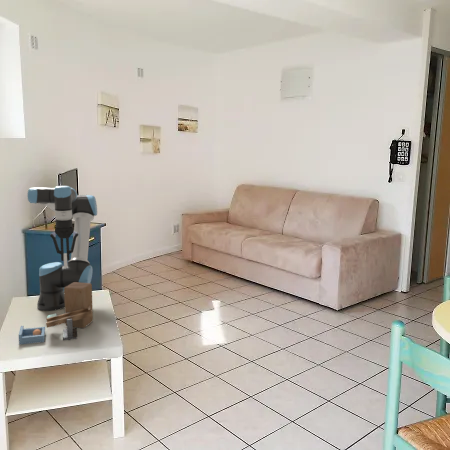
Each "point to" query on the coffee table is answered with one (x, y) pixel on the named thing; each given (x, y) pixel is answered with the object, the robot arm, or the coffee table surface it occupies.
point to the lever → (68, 317)
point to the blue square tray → (31, 335)
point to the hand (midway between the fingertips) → (65, 267)
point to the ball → (36, 332)
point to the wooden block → (78, 301)
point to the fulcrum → (69, 331)
